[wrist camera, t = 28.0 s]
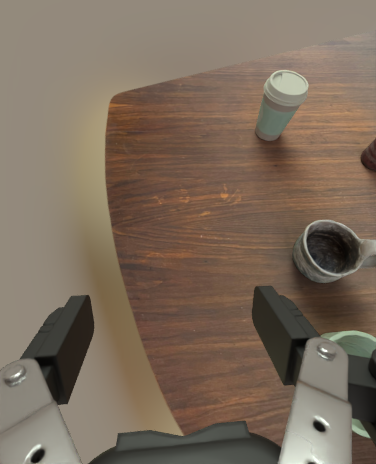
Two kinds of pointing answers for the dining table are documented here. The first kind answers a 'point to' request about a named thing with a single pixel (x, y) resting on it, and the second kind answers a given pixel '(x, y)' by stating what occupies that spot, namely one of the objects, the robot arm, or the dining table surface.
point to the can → (370, 156)
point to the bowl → (357, 346)
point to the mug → (331, 251)
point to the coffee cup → (280, 103)
